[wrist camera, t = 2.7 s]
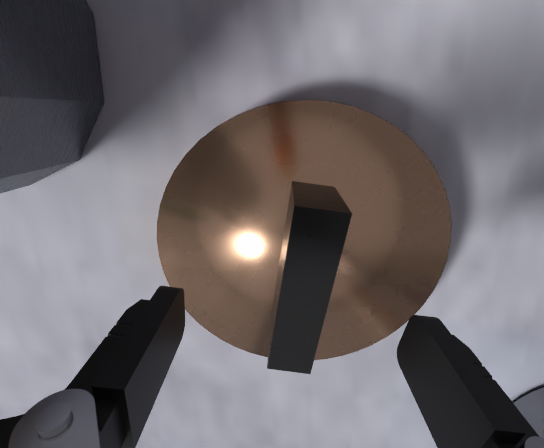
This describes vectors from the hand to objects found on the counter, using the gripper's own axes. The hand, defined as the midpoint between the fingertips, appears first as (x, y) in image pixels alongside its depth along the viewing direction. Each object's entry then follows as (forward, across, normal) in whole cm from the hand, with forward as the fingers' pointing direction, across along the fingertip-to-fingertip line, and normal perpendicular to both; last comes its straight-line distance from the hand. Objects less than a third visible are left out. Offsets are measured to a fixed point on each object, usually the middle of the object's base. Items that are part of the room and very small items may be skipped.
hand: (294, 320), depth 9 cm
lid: (+6, -1, 0) cm, 7 cm away
